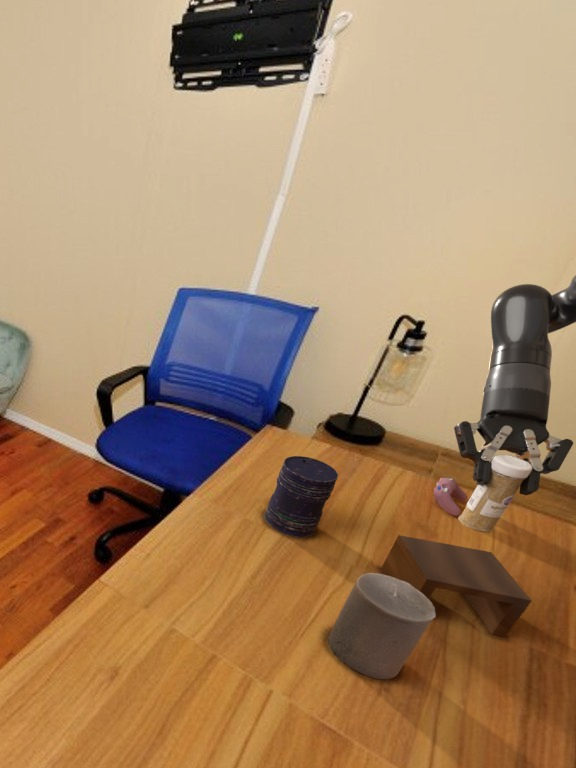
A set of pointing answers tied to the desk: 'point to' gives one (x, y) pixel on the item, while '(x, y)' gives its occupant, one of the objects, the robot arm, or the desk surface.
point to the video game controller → (449, 495)
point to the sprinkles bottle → (495, 493)
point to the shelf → (460, 578)
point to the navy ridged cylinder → (300, 496)
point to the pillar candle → (380, 625)
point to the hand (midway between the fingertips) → (504, 488)
